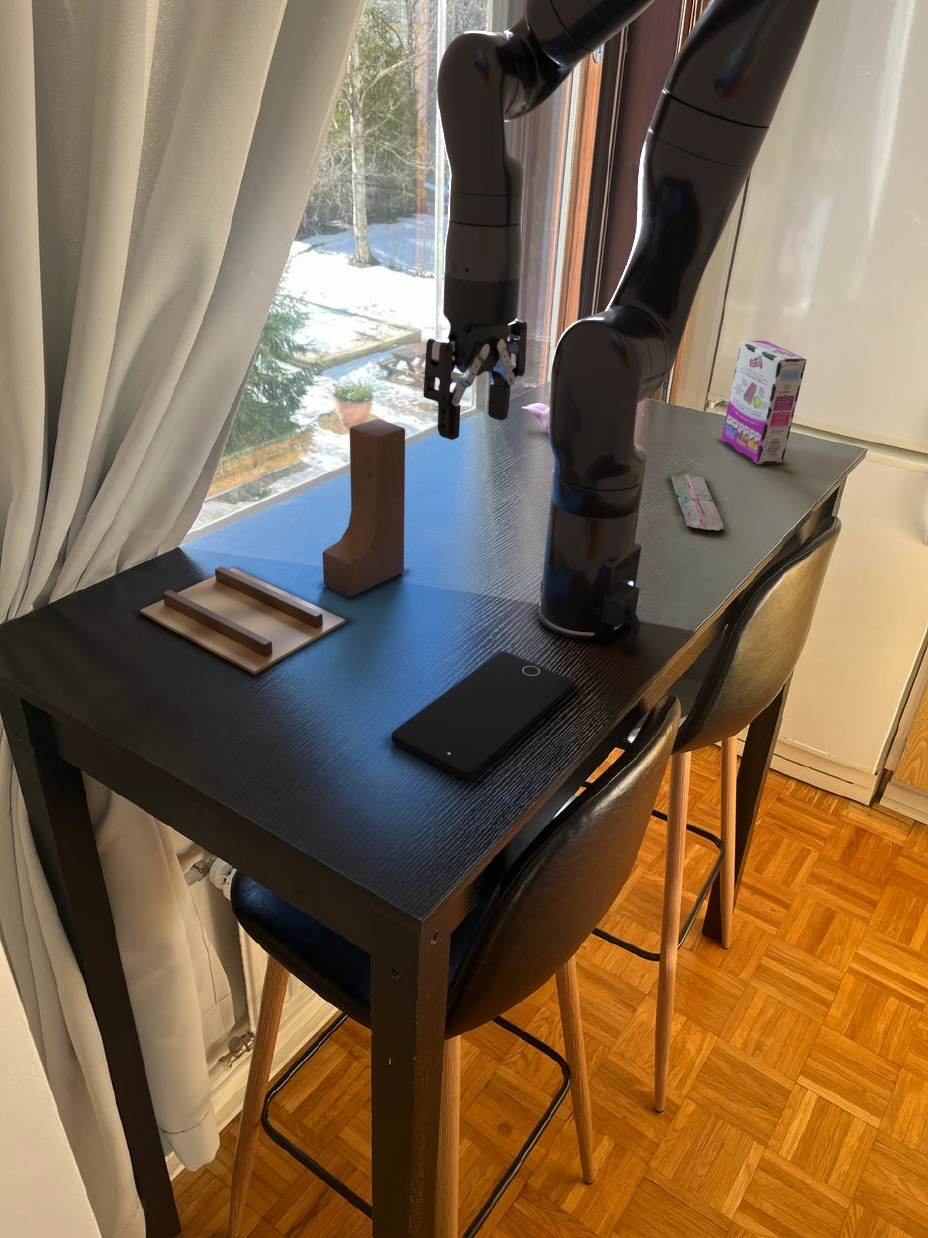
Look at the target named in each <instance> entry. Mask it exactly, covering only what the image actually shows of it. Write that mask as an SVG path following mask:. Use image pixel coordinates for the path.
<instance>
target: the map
mask: <svg viewBox="0 0 928 1238" xmlns="http://www.w3.org/2000/svg"><path fill="white" fill-rule="evenodd" d="M670 477H671V482H672V487H673V490H674V493H675V495H676V496H677V498H676V499H677V502H678V504H679V506H680V509H681V512H682V515H683V516H684V521H685V524H686V526H687V527H691V528H695V529H703V530H708V531H711V530H714V531H720V530H721V529H722V530H724V524H723V520H722V517H721V516H720V513H719V511H718V509H717V506H716V505H715V501H714V499H713V497H712V494H711V492H710V490H709V488H708V486H707V484H706V481H705V477H704V476H701V475H697V474H692V473H689V472H683V473H674V474H671V476H670Z"/></svg>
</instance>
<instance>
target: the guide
mask: <svg viewBox="0 0 928 1238" xmlns="http://www.w3.org/2000/svg"><path fill="white" fill-rule="evenodd" d="M214 574H215V575H213V576H211V577H208V578H206V579H205V580H203V581H200V582H198V583H196V584H193V585H191V586H190V587H187V588H186V589H183V590H181V591H179V592H175V591H173V590H172V589H168V590H165V591H164V592H162V600H161V599H160V600H159V601H157V602H154V603H152V604H150V605H147V606H146V607H144V608H142V609H139V614H140V615H143V616H144V617H147V618H148V619H150V620H152V621H154V622H155V623H158V624H159V625H161V626H163V627H165V628H167V629H168V630H170V631H173V632H174V633H176V634H178V635H180V636H182V637H184V638H186V639H187V640H189V641H191V642H193V643H194V644H197V645H199V646H201V647H202V648H204V649H206V650H208V651H210V652H212V653H214V654H215V655H217V656H219V657H221V658H223V659H224V660H227V661H229V662H230V663H232V664H234V665H235V666H238V667H239V668H241V669H243V670H245V671H247V672H249V673H251V674H253V675H257V674H258V673H260V672H262V671H264V670H265V669H268V668H269V667H271V666H272V665H274V664H276V663H278V662H279V661H281V660H282V659H285V658H286V657H288V656H290V655H292V654H293V653H295V652H297V651H299V650H301V649H302V648H304V647H306V646H307V645H310V644H311V643H313V642H314V641H316V640H319V639H320V638H321V637H323V636H325V635H326V634H329V633H330V632H332V631H333V630H335V629H337V628H339V627H341V626H342V625H344V624H346V619H345V618H343V617H341V616H339V615H336V614H334V613H332V612H330V611H328V610H326V609H324V608H322V607H319V606H317V605H315V604H312V603H310V602H308V601H306V600H304V599H302V598H300V597H298V596H295V595H293V594H291V593H289V592H287V591H284V590H282V589H280V588H278V587H276V586H274V585H272V584H269V583H267V582H265V581H263V580H261V579H258V578H256V577H254V576H252V575H250V574H248V573H245V572H244V571H241V570H239V569H237V568H234V567H231V568H229V569H228V568H226V567H225V566H222V565H221V566H219V567H217V568H215V569H214Z"/></svg>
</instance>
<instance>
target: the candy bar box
mask: <svg viewBox="0 0 928 1238" xmlns="http://www.w3.org/2000/svg"><path fill="white" fill-rule="evenodd" d="M739 344H740V345H739V348H738V354H737V360H736V364H735V369H734V375H733V380H732V383H731V384H732V385H731V389H730V395H729V400H728V406H727V410H726V415H725V420H724V424H723V429H722V430H723V431H722V436H721V442H722V443H724V444H726V445H727V446H728V447H730V448H731V449H733V450H734V451H736V452H738V453H739V454H740V455H742V456H743V457H745V458H747V460H750V461H751V462H752V463H754V464H756V465H757V466H759V465H775V464H777V465H778V464H782V463H783V462H784V458H785V455H786V450H787V445H788V441H789V436H790V432H791V429H792V424H793V419H794V416H795V410H796V407H797V403H798V399H799V398H798V397H799V396H800V395H799V394H800V390H801V387H802V382H803V377H804V373H805V369H806V365H807V361H808V360H807V359H806V358H804V357H802V356H800V355H798V354H796V353H793V352H791V351H790V350H787V349H785V348H782V347H780V346H778V345H776V344H774V343H772V342H769V341H767V340H750V341H747V340H745V341H740V343H739Z"/></svg>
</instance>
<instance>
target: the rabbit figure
mask: <svg viewBox="0 0 928 1238" xmlns="http://www.w3.org/2000/svg"><path fill="white" fill-rule="evenodd" d="M549 407H550V405H547V404H544V403H540V402H538V403H537V402H536V403H531V404H528V405H527V406H522V407H521V409H522V410H527V411H528V412H529V413H530V414H531V415H532V416H534V417H535V418H536V419H538V420H539V422H540V423H541V425H542V427H543V429H545V430H546V431H547V432H548V433H549Z"/></svg>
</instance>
